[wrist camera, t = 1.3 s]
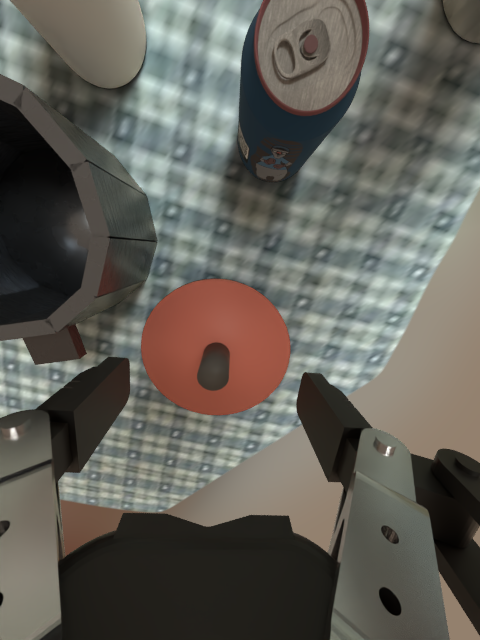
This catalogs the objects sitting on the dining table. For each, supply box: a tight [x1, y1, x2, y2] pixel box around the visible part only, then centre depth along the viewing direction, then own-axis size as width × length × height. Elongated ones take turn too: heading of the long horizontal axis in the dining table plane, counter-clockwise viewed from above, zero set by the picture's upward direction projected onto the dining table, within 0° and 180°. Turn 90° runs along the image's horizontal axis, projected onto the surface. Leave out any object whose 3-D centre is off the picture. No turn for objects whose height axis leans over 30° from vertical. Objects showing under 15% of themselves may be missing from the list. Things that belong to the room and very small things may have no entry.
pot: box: [0, 74, 157, 365], centre depth 19 cm, size 17×23×10 cm
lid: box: [141, 278, 290, 415], centre depth 26 cm, size 18×18×7 cm
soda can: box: [238, 0, 369, 182], centre depth 17 cm, size 7×7×12 cm
